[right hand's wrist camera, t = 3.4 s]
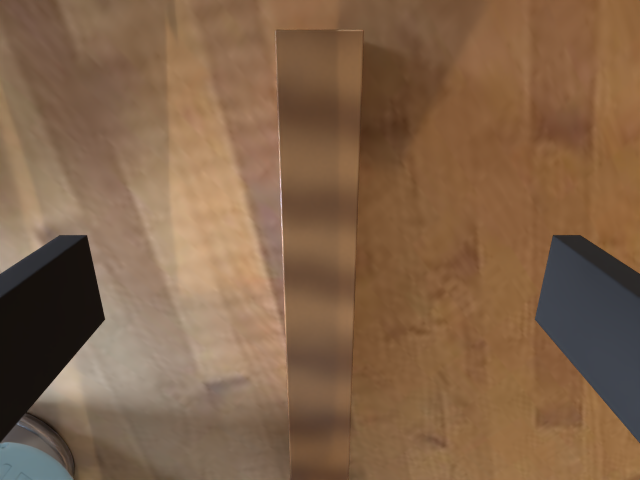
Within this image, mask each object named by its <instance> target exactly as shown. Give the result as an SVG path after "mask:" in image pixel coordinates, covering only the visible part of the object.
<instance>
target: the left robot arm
mask: <svg viewBox="0 0 640 480" xmlns="http://www.w3.org/2000/svg"><path fill="white" fill-rule="evenodd" d="M73 473H74V462H73V458H72V454H71V452H70V450H69V448H68V446H67V445H66V443H65V442H64V440H63V439H62V438H61V437H60V436H59V435H58V434H57V433H56V432H55V431H54V430H53V429H52V428H51V427H50V426H48V425H47V424H45V423H44V422H42V421H41V420H39V419H37V418H35V417H34V416H32V415H29V414H27V413H25V414H24V416H23V417H22V418H21V419H20V420H19V421H18V423H17V424H16V425H15V426H14V427H13V429H12V430H11V431H10V432H9V433H8V434H7V436H6V437H5V438H4V439H3V440H2V442H1V443H0V480H73V478H72V477H73Z"/></svg>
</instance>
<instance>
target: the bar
mask: <svg viewBox="0 0 640 480" xmlns="http://www.w3.org/2000/svg"><path fill="white" fill-rule="evenodd" d="M363 39H364V31H363V30H275V48H276V77H277V105H278V134H279V163H280V191H281V220H282V248H283V277H284V305H285V334H286V362H287V391H288V420H289V448H290V477H291V480H349V451H350V422H351V392H352V363H353V333H354V304H355V274H356V245H357V216H358V186H359V157H360V127H361V98H362V68H363Z"/></svg>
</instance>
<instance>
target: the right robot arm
mask: <svg viewBox="0 0 640 480" xmlns="http://www.w3.org/2000/svg"><path fill="white" fill-rule="evenodd" d="M104 320H105V317H104V312H103V308H102V303H101V298H100V294H99V289H98V284H97V280H96V275H95V270H94V266H93V261H92V256H91V252H90V247H89V242H88V238H87V235H59V236H58V237H56V238H55V239H53V240H52V241H50V242H49V243H47V244H46V245H44V246H43V247H41V248H39V249H38V250H36V251H35V252H33V253H32V254H30V255H29V256H27V257H26V258H24V259H23V260H21V261H19V262H18V263H16V264H15V265H13V266H12V267H10V268H9V269H7V270H6V271H4V272H3V273H1V274H0V443H1V442H2V440H3V439H4V438H5V437H6V436H7V434H8V433H9V432H10V431H11V430H12V429H13V427H14V426H15V425H16V424H17V423H18V421H19V420H20V419H21V418H22V417H23V416H24V414H25V413H26V412H27V411H28V410H29V409H30V407H31V406H32V405H33V404H34V403H35V401H36V400H37V399H38V398H39V397H40V396H41V394H42V393H43V392H44V391H45V390H46V388H47V387H48V386H49V385H50V384H51V383H52V381H53V380H54V379H55V378H56V377H57V375H58V374H59V373H60V372H61V371H62V370H63V368H64V367H65V366H66V365H67V364H68V363H69V361H70V360H71V359H72V358H73V357H74V355H75V354H76V353H77V352H78V351H79V350H80V348H81V347H82V346H83V345H84V344H85V342H86V341H87V340H88V339H89V338H90V337H91V335H92V334H93V333H94V332H95V331H96V330H97V328H98V327H99V326H100V325H101V324H102V322H103V321H104ZM535 320H536V321H537V322H538V324H539V325H540V326H541V327H542V328H543V330H544V331H545V332H546V333H547V334H548V335H549V337H550V338H551V339H552V340H553V341H554V342H555V344H556V345H557V346H558V347H559V348H560V350H561V351H562V352H563V353H564V354H565V355H566V357H567V358H568V359H569V360H570V361H571V363H572V364H573V365H574V366H575V367H576V368H577V370H578V371H579V372H580V373H581V374H582V376H583V377H584V378H585V379H586V380H587V381H588V383H589V384H590V385H591V386H592V387H593V388H594V390H595V391H596V392H597V393H598V394H599V396H600V397H601V398H602V399H603V400H604V401H605V403H606V404H607V405H608V406H609V407H610V409H611V410H612V411H613V412H614V413H615V414H616V416H617V417H618V418H619V419H620V420H621V421H622V423H623V424H624V425H625V426H626V427H627V429H628V430H629V431H630V432H631V433H632V434H633V436H634V437H635V438H636V439H637V440H638V442H639V443H640V274H639V273H637V272H636V271H634V270H633V269H631V268H630V267H628V266H627V265H625V264H624V263H622V262H621V261H619V260H617V259H616V258H614V257H613V256H611V255H610V254H608V253H607V252H605V251H604V250H602V249H601V248H599V247H597V246H596V245H594V244H593V243H591V242H590V241H588V240H587V239H585V238H584V237H582V236H581V235H553V238H552V242H551V247H550V252H549V256H548V261H547V266H546V270H545V275H544V280H543V284H542V289H541V294H540V298H539V303H538V308H537V312H536V317H535Z"/></svg>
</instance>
